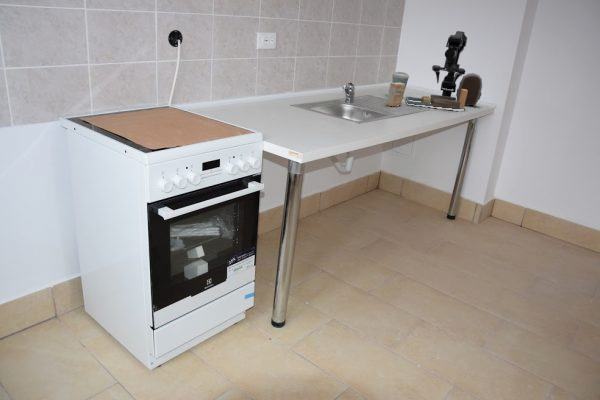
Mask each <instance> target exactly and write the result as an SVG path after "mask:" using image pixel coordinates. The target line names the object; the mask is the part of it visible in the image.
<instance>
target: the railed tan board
mask: <svg viewBox="0 0 600 400" xmlns="http://www.w3.org/2000/svg"><path fill="white" fill-rule="evenodd" d="M429 98H430V99H431V104H434V105H433V107H442V108H452V109H459V107H460V102H457V96H456V97H453V96H451V97H448V96H442V95H438V94H430V97H429Z"/></svg>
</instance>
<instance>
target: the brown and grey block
mask: <svg viewBox="0 0 600 400" xmlns="http://www.w3.org/2000/svg"><path fill="white" fill-rule="evenodd" d="M467 92H468V90H466V89H461V93H460V97H459V101H458V102H460V107H459V109H465V106H466V105H465V101H466V97H467Z"/></svg>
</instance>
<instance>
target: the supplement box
mask: <svg viewBox="0 0 600 400" xmlns="http://www.w3.org/2000/svg"><path fill="white" fill-rule="evenodd" d="M404 89H405V90H406V88H405V84H403V83H392V82H390V83H389V89H388V95H387V100H386V106H389V107H391V106H392V107H391V108H393V106H396V107H398V106H397V105H401V106H402V103H403V98H404V94H405V91H404Z"/></svg>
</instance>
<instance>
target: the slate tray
mask: <svg viewBox="0 0 600 400" xmlns="http://www.w3.org/2000/svg"><path fill="white" fill-rule="evenodd" d="M421 98H422V97H413V96H405V99H404V100H406V101H407V103H408V104H414V105H425V106H433V105H434V104H429V103H421V102H413V101H421ZM409 100H413V101H409ZM406 101H405V102H406ZM407 103H406V104H407Z"/></svg>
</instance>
